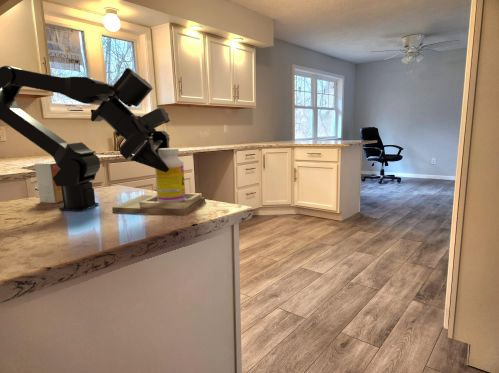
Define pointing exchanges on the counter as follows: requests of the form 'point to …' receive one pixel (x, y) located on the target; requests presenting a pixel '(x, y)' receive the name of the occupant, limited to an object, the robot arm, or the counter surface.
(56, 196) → the small box
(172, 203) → the brown shallow tray
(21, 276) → the counter surface
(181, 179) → the supplement bottle
